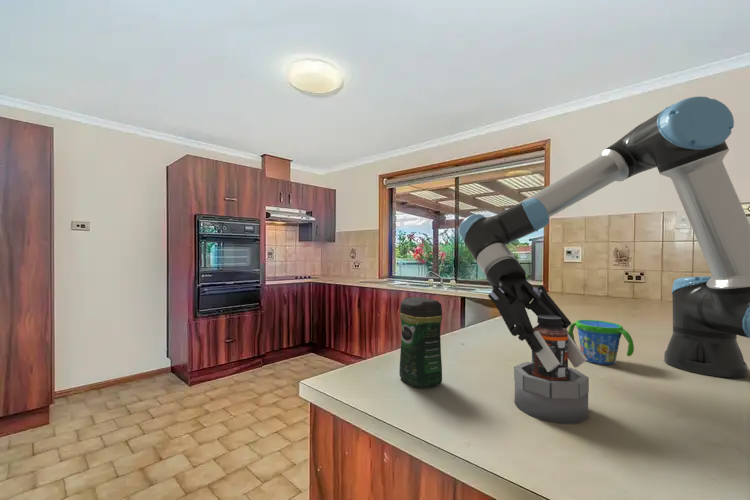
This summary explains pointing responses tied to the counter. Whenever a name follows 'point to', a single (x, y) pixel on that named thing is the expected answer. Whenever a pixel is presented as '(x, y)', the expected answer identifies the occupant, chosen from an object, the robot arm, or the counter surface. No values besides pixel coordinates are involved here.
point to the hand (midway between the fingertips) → (567, 365)
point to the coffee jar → (421, 342)
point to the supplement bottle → (552, 348)
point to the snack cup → (600, 340)
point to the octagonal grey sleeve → (552, 396)
